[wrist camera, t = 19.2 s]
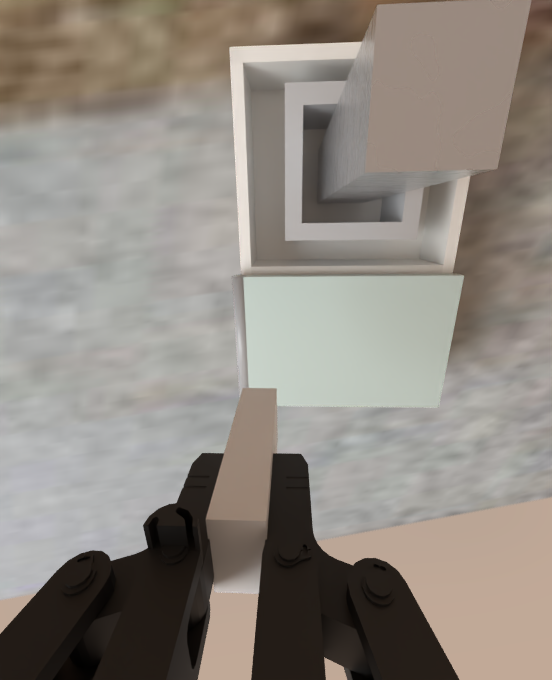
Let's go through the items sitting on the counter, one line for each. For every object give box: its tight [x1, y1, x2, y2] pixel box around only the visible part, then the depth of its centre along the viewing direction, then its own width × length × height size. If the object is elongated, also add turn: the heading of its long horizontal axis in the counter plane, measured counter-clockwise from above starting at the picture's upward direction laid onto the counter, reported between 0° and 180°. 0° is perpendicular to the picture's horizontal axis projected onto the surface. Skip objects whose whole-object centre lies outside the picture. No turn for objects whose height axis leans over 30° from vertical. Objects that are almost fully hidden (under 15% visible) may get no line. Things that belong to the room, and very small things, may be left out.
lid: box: [232, 274, 464, 408], centre depth 22 cm, size 15×10×1 cm, turn 91°
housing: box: [229, 42, 470, 275], centre depth 23 cm, size 14×22×6 cm, turn 1°
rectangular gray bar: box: [317, 0, 531, 204], centre depth 15 cm, size 3×3×16 cm
